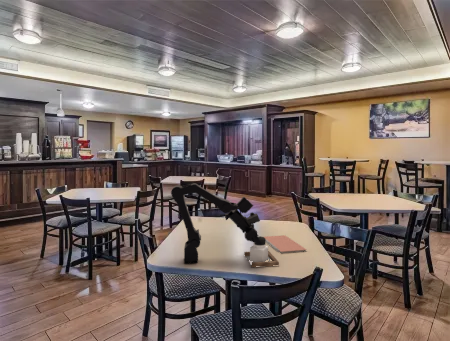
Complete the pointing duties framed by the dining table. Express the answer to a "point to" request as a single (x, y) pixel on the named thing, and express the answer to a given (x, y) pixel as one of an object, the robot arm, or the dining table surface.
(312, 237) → the dining table surface
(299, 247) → the notebook
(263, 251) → the medicine bottle
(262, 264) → the wooden picture frame
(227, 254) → the dining table surface
